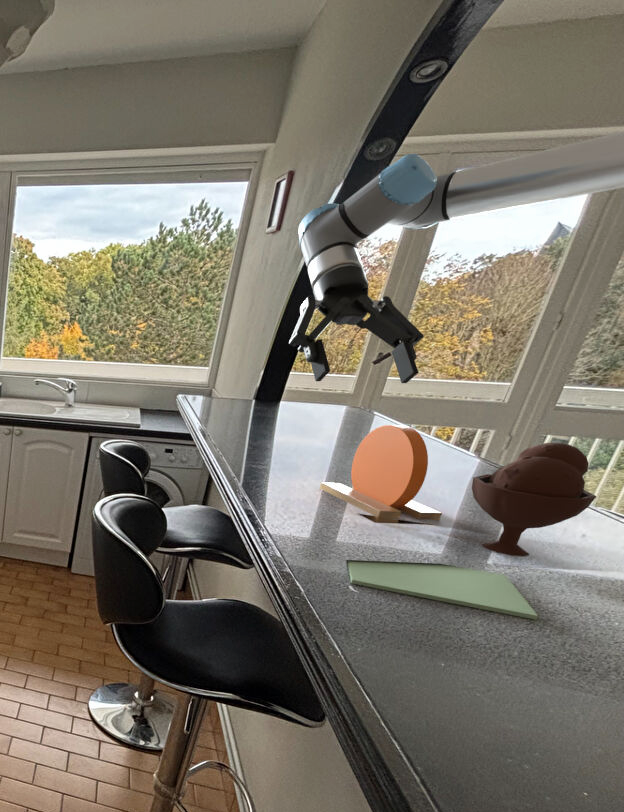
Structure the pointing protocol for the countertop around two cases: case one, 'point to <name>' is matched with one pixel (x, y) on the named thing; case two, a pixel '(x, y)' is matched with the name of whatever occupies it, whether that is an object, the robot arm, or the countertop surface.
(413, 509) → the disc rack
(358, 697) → the countertop surface
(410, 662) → the countertop surface
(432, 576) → the sage mat
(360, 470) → the orange disc
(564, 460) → the ice cream bowl
